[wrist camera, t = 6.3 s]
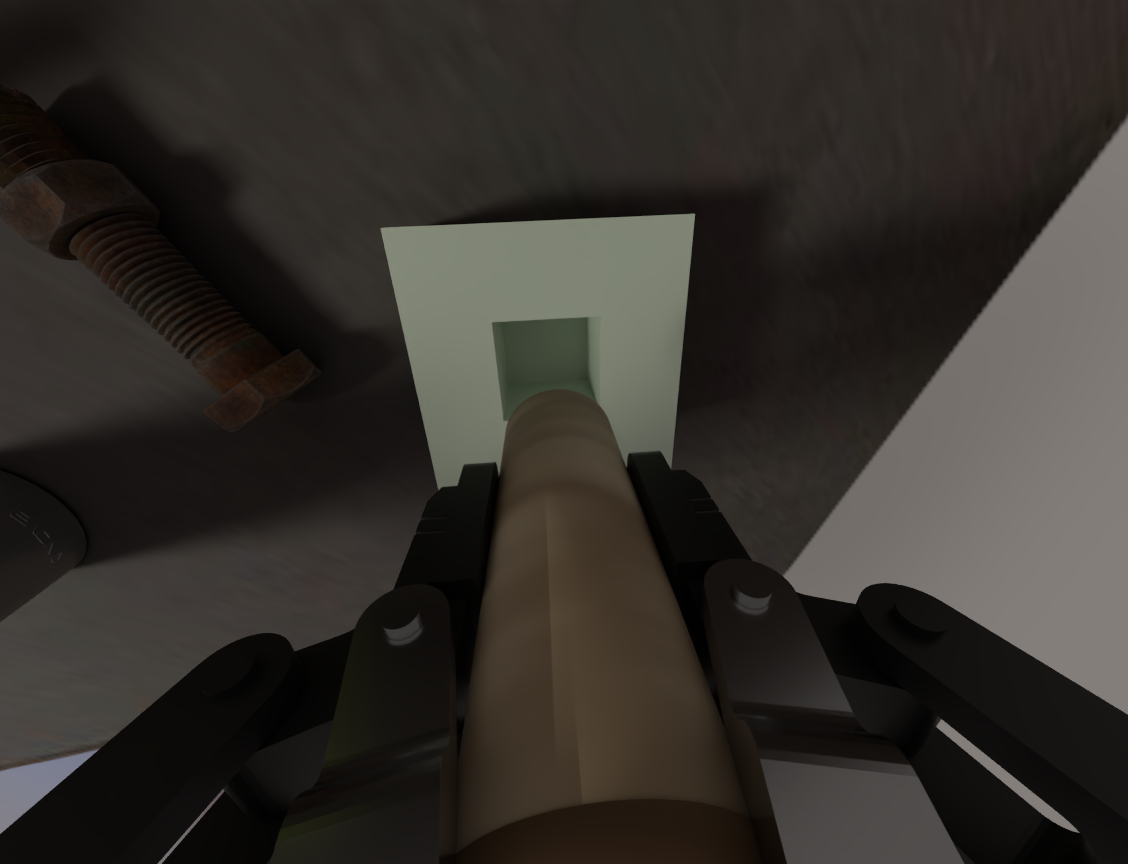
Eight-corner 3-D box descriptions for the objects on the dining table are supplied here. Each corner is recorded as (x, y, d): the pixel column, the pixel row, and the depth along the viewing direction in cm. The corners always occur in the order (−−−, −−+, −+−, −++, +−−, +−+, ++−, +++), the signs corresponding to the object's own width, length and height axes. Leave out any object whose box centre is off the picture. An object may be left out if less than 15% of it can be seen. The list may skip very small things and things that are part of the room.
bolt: (84, 116, 19) (324, 373, 25) (-37, 164, 18) (248, 425, 24) (-11, 22, 14) (318, 372, 20) (-193, 79, 13) (221, 439, 18)
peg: (510, 487, 13) (454, 1075, 4) (498, 392, 11) (366, 993, 2) (611, 480, 13) (778, 1035, 4) (613, 384, 11) (878, 933, 3)
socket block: (457, 436, 26) (438, 491, 21) (420, 227, 21) (380, 227, 15) (642, 424, 26) (670, 474, 21) (653, 216, 21) (695, 213, 16)
